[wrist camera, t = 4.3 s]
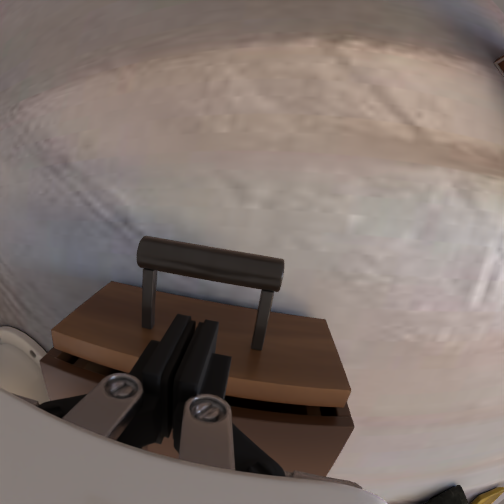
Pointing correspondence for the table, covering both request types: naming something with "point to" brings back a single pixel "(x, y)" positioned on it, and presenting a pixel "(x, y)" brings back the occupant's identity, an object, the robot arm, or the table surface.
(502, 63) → the food container
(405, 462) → the table surface
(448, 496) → the flashlight
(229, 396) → the drawer
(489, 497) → the yellow shallow tray
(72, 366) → the cabinet
